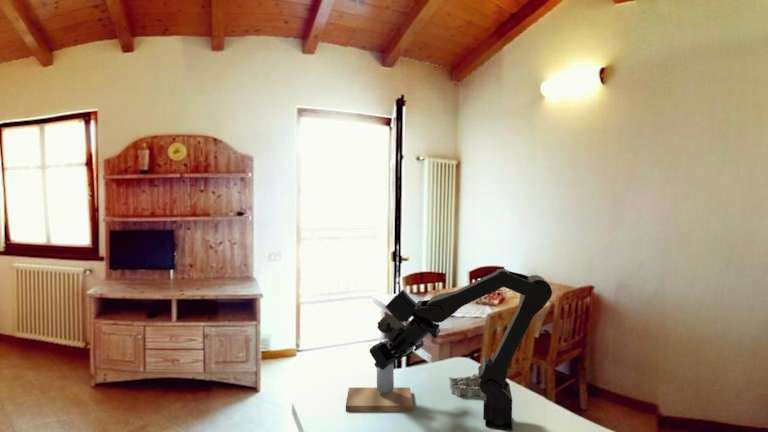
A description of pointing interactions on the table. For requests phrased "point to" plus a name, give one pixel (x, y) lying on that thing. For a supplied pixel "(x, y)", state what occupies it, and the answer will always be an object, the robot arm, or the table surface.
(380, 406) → the walnut board
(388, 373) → the slate-blue bottle
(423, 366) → the table surface
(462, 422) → the table surface
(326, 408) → the table surface
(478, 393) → the egg carton
